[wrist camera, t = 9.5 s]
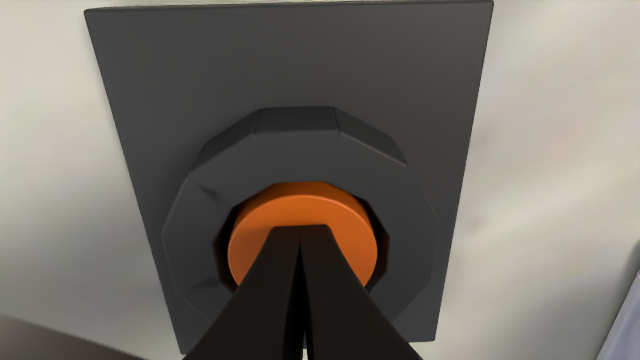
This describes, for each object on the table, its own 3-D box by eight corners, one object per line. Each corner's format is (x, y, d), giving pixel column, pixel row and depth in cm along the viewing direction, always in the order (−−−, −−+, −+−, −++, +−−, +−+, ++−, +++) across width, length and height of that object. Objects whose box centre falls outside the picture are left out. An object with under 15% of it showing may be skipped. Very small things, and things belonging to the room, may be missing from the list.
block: (425, 315, 14) (453, 390, 12) (189, 328, 14) (163, 407, 11) (473, -3, 9) (543, 2, 7) (106, 6, 9) (24, 14, 6)
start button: (363, 267, 11) (374, 311, 10) (245, 272, 11) (237, 318, 10) (368, 159, 10) (381, 192, 8) (230, 164, 10) (216, 198, 8)
